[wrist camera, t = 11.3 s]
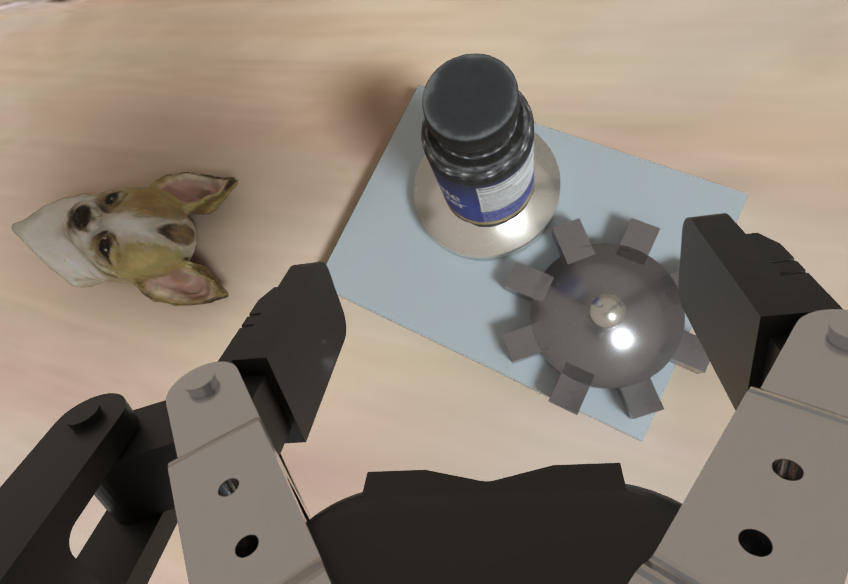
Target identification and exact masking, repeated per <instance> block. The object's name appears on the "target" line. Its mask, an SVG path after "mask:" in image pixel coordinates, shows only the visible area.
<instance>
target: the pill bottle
mask: <svg viewBox="0 0 848 584" xmlns="http://www.w3.org/2000/svg"><path fill="white" fill-rule="evenodd" d="M422 108H423V114H424V120H423V122H422V130H421V140H422V145H423V149H424V152H425V155H426V157H427V159H428V161H429V164H430V166H431V168H432V170H433V173H434V175H435V178H436V180H437V182H438V184H439V187H440V189H441V191H442V193H443V196H444V198H445V200H446V202H447V204H448V206H449V208H450V210H451V211H452V212H453V213H454V214H455V215H456V216H457V217H458V218H460V219H461V220H463V221H465V222H470V223H472V224H473V225H475V226H478V227H495V226H498V225H501V224H504V223H506V222H508V221H510V220H512V219H514V218H515V217H517V216H518V215H519V214H520V213H521V212H522V211H523V210H524V209H525V207H526V206H527V204H528V202H529V200H530V198H531V195H532V193H533V190H534V120H533V114H532V111H531V108H530V106H529V105H528V102H527V100H526V99H525V97H524V96H523V95H522V93H521V92H520V91H518V85H517V81H516V79H515V76H514V74H513V73H512V71H511V70H510V69H509V67H508V66H506V65H505V64H504V63H503V62H502V61H500V60H498V59H496V58H494V57H491V56H490V55H485V54H465V55H461V56H459V57H456V58H453V59H451V60H449V61H447V62H445V63H444V64H443V65H441V66H440V67H439V68H438V69H437V70H436V71H435V72H434V73H433V74H432V75H431V77H430V79H429V80H428V82H427V84H426V86H425V89H424V92H423V97H422Z"/></svg>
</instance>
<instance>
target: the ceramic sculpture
mask: <svg viewBox="0 0 848 584" xmlns="http://www.w3.org/2000/svg"><path fill="white" fill-rule="evenodd" d="M237 184H238V179H237V178H220V177H214V176H209V175H203V174H201V175H198V174H195V173H189V172H184V173H180V174H178V175H165V176H164V177H162V178H160V179H158V180H156V181H155V182H154V183H153V184H152V185H151V186H150V187H148V188H116V189H112V190H109V191H106V192H103V193H100V194H98V195H97V196H96V195H92V194H81V195H79V196H75V197H67V198H62V199H60V200H58V201H55V202H53V203H51V204H48V205H45V206H43V207H42V208H40V209H39V210H38V211H36V212H35V213H33V214H32V215H30V216H29V217H28V218H26V219H24V220H23V221H20V222H17V223H15V224H13V225H12V230H13V232H14V233H15V234H16V235H17V236H19V237H20V238H21V239H22V240H23V241H24V242H25V243H26V244H27V246H28V247H29V248H30V249H31V250H32V251H33V252H34V253H35V254H36V255H37V256H38V257H39V258H40V259H41V260H42V261H43V262H44V263H45V264H46V265H48V266H49V267H50V268H51V269H52V270H53V271H55V272H56V273H57V274H59V275H60V276H62V277H63V278H65V280H66V281H67V282H68V283H69V284H70V285H74V286H77V287H91V286H95V285H98V284H100V283H102V282H104V281H105V282H110V281H113V282H120V283H123V282H127V281H129V282H131V283H133V284H134V285H135V286H137V287H138V288H139V290H140V291H141V292H142V293H143V294H144V295H145V296H147V297H148V298H150V299H151V300H153V301H155V302H163V303H168V304H171V305H174V306H179V305H198V304H205V303H211V302H214V301H216V300H220V299H223V298H226V297H228V296H229V294H228V292H227V291H226V290H225V289H224V288H223V287H222V286H221V285H220V283H219V282H218V280H217V279H216V277H215V276H214V275H213V273H212V272H211V271H210V269H209V268H207V267H205V266H204V265H200V264H196V263H193V262H191V261H190V259H191V258H192V255H193V253H194V250H195V246H196V242H197V235H196V228H195V226H194V224H193V222H192V221H191V220H190V219H189V217H188V214H190V213H192V214H202V215H204V214H210V213H211V212H213V211H215V210H216V208H217V207H218V206H219V205H220V204H221V203H222V202H223V201H224V200H225V199H226V198H227V196H228V195H229V193H230V192H231V191H232V190H233V189H234V188H235V186H236V185H237Z"/></svg>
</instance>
